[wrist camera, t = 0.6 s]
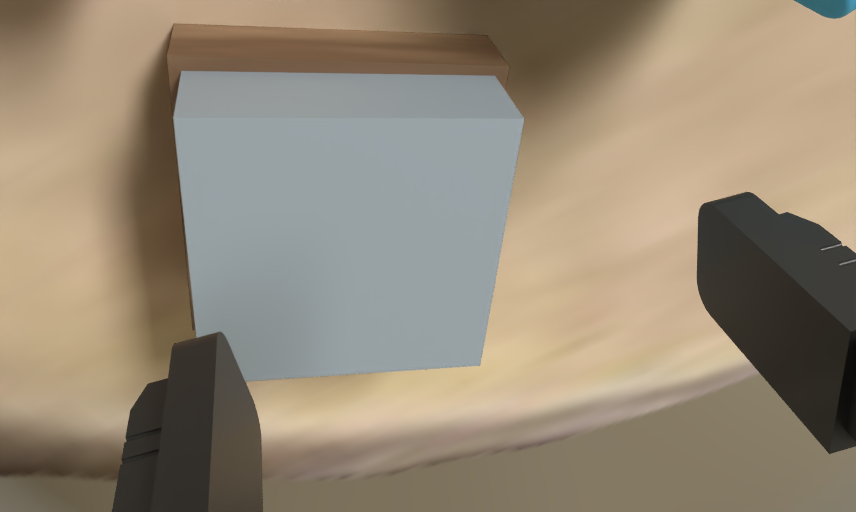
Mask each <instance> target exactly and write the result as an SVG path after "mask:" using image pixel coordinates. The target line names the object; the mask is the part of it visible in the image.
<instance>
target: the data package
mask: <svg viewBox="0 0 856 512" xmlns="http://www.w3.org/2000/svg"><path fill="white" fill-rule="evenodd" d="M794 1H796V2H798V3H800V4H802V5H803V6H805V7H807V8H809V9H811V10H813V11H815V12H816V13H818V14H820V15H822V16H824V17H828V18H841V17H843V16H845V15H847V14H849V13H850V12H852V11H853V10H855V9H856V0H794Z"/></svg>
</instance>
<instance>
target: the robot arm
mask: <svg viewBox="0 0 856 512" xmlns="http://www.w3.org/2000/svg"><path fill="white" fill-rule="evenodd" d="M697 285H698V290H699V294H700V297H701V300H702V302H703V304H704V306H705V308H706V310H707V311H708V313H709V314H710V315H711V317H712V318H713V319H714V320H715V321H716V322H717V324H718V325H719V326H720V327H721V328H722V329H723V331H724V332H725V333H726V334H727V335H728V336H729V338H730V339H731V340H732V341H733V342H734V343H735V345H736V346H737V347H738V348H739V349H740V350H741V352H742V353H743V354H744V355H745V356H746V357H747V359H748V360H749V361H750V362H751V363H752V364H753V366H754V367H755V368H756V369H757V370H758V371H759V373H760V374H761V375H762V376H763V377H764V378H765V380H766V381H767V382H768V383H769V384H770V385H771V387H772V388H773V389H774V390H775V391H776V392H777V393H778V395H779V396H780V397H781V398H782V399H783V400H784V401H785V403H786V404H787V405H788V406H789V408H791V410H792V411H793V412H794V413H795V415H796V416H797V417H798V418H799V419H800V420H801V421H802V423H803V424H804V425H805V426H806V427H807V428H808V430H809V431H810V432H811V433H812V434H813V435H814V437H815V438H816V439H817V440H818V441H819V442H820V444H821V445H822V446H823V447H824V448H825V449H826V451H827V452H828V453H829V454H831V453H834V452H837V451H841V450H844V449H848V448H851V447H854V446H856V253H855V252H853V251H852V250H851V249H849V248H848V247H847V246H842V243H841V241H839V240H838V239H837V238H835V237H834V236H833V235H832V234H830V233H829V232H828V231H827V230H825V229H824V228H823V227H821V226H820V225H819V224H816V223H814V222H811V221H809V220H806V219H804V218H801V217H798V216H796V215H793V214H791V213H788V212H786V213H783V214H778V213H776V212H775V211H774V210H773V209H772V208H770V207H769V206H768V205H767V204H766V203H764V202H763V201H762V200H761V199H759V198H758V197H757V196H756V195H754V194H753V193H750V192H745V193H741V194H737V195H733V196H730V197H726V198H722V199H718V200H715V201H711V202H707V203H704V204H703V205H702V206H701V208H700V210H699V216H698V251H697ZM126 440H127V442H125V443H124V448H123V454H122V462H123V464H122V465H120V470H119V476H118V481H117V487H116V492H115V498H114V503H113V509H112V512H263V496H262V448H261V430H260V424H259V419H258V415H257V411H256V407H255V404H254V401H253V399H252V396H251V394H250V392H249V389H248V387H247V385H246V382H245V380H244V378H243V375H242V373H241V371H240V368H239V366H238V364H237V361H236V359H235V357H234V354H233V352H232V350H231V347H230V345H229V343H228V341H227V339H226V337H225V335H224V334H223V333H222V332H216V333H213V334H209V335H205V336H201V337H198V338H194V339H190V340H186V341H183V342H179V343H175V344H174V345H173V347H172V353H171V361H170V369H169V376H168V378H167V379H164V380H160V381H156V382H153V383H149V384H147V386H146V387H145V389H144V391H143V392H142V394H141V395H140V397H139V398H138V400H137V401H136V403H135V404H134V406H133V407H132V409H131V410H130V416H129V421H128V427H127V432H126Z"/></svg>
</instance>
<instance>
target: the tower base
mask: <svg viewBox="0 0 856 512" xmlns="http://www.w3.org/2000/svg"><path fill="white" fill-rule="evenodd" d="M167 64H168V75H169V85H170V96H171V107H172V117H174V111H175V105H176V99H177V93H178V88H179V82H180V76H181V71H221V72H286V73H350V74H415V75H479V76H496V78H497V79H498V81H499V82H500V84H501V85H502V87H503V88H504V90H506V84H507V78H508V72H509V67H510V66H509V65H508V63H507V62H506V61H505V59H504V58H503V56H502V55H501V54H500V52H499V51H498V50H497V48H496V47H495V45H494V44H493V43H492V41H491V40H490V39H489V37H488V36H487V35H468V34H441V33H414V32H387V31H360V30H334V29H307V28H280V27H253V26H226V25H199V24H174V25H173V30H172V35H171V39H170V44H169V48H168V53H167ZM173 128H174V119H173ZM174 138H175V129H174ZM175 149H176V159H177V170H178V180H179V191H180V201H181V212H182V222H183V233H184V244H185V254H186V265H187V275H188V286H189V296H190V307H191V317H192V328H193V330H196V329H195V319H194V310H193V300H192V291H191V281H190V272H189V262H188V253H187V243H186V234H185V224H184V215H183V205H182V196H181V186H180V176H179V167H178V157H177V148H176V138H175Z"/></svg>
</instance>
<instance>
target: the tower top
mask: <svg viewBox="0 0 856 512" xmlns="http://www.w3.org/2000/svg"><path fill="white" fill-rule="evenodd" d="M173 119H174V129H175V138H176V148H177V157H178V167H179V176H180V186H181V196H182V205H183V215H184V224H185V234H186V243H187V253H188V262H189V272H190V281H191V291H192V300H193V310H194V319H195V329H196V338H198V337H201V336H205V335H209V334H213V333H216V332H222V333H223V334H224V335H225V337H226V339H227V341H228V343H229V345H230V347H231V350H232V352H233V354H234V357H235V359H236V361H237V364H238V366H239V368H240V371H241V373H242V375H243V378H244V380H245V382H246V381H260V380H275V379H290V378H304V377H319V376H334V375H349V374H363V373H378V372H393V371H407V370H422V369H437V368H452V367H466V366H480V364H481V358H482V352H483V347H484V341H485V336H486V330H487V325H488V319H489V313H490V308H491V302H492V297H493V291H494V285H495V280H496V274H497V269H498V263H499V258H500V252H501V246H502V241H503V235H504V230H505V224H506V218H507V213H508V207H509V202H510V196H511V191H512V185H513V179H514V174H515V168H516V163H517V157H518V151H519V146H520V140H521V135H522V129H523V124H524V117H523V116H522V115H521V113H520V112H519V110H518V109H517V107H516V106H515V104H514V103H513V101H512V100H511V98H510V97H509V95H508V94H507V93H506V91H505V90H504V88H503V87H502V85H501V84H500V82H499V81H498V79H497V78H496V76H479V75H415V74H350V73H286V72H221V71H181V76H180V82H179V88H178V93H177V99H176V105H175V111H174V117H173Z"/></svg>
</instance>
